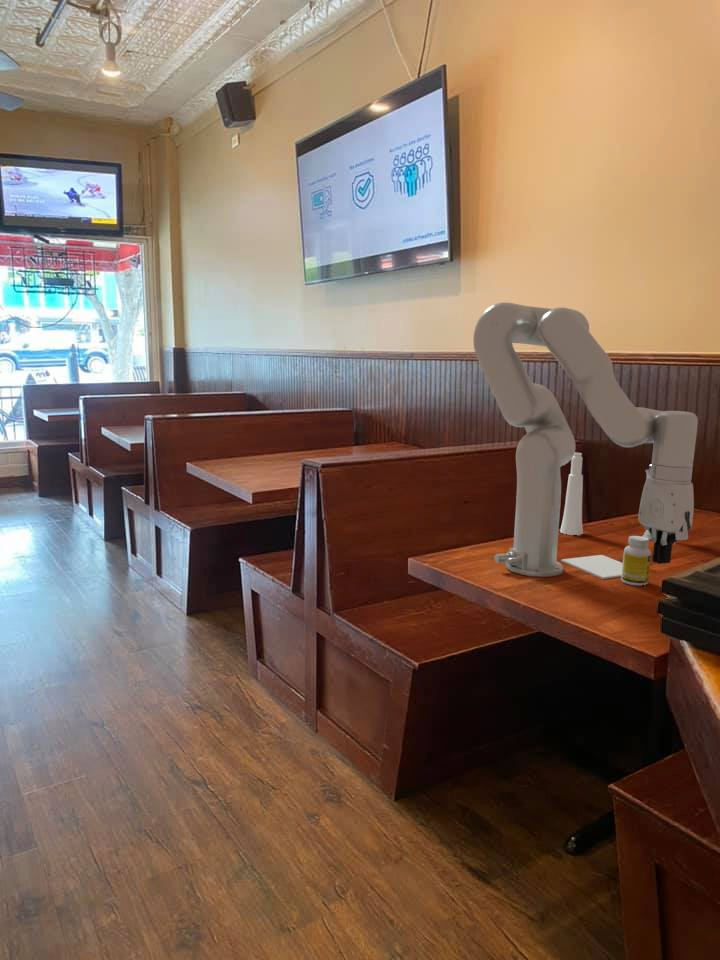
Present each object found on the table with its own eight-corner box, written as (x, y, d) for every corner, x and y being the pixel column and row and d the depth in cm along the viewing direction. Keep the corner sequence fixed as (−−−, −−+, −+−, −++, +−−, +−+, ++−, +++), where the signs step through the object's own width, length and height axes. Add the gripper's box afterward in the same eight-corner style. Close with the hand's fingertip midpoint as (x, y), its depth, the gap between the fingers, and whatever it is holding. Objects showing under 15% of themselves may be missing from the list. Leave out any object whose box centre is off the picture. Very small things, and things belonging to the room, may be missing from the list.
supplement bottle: (650, 587, 146) (654, 542, 144) (623, 585, 147) (627, 540, 145) (645, 579, 151) (649, 535, 150) (619, 577, 152) (623, 534, 151)
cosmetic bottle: (587, 535, 188) (593, 454, 184) (567, 536, 187) (573, 454, 183) (575, 529, 194) (581, 451, 190) (555, 530, 193) (561, 451, 189)
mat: (602, 579, 151) (602, 577, 151) (561, 561, 164) (561, 559, 164) (645, 573, 156) (645, 571, 156) (601, 556, 168) (601, 554, 168)
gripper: (628, 468, 144) (620, 553, 147) (686, 481, 130) (676, 575, 134) (656, 466, 147) (647, 550, 150) (716, 479, 133) (705, 571, 137)
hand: (661, 562), depth 142 cm, fingers closed
